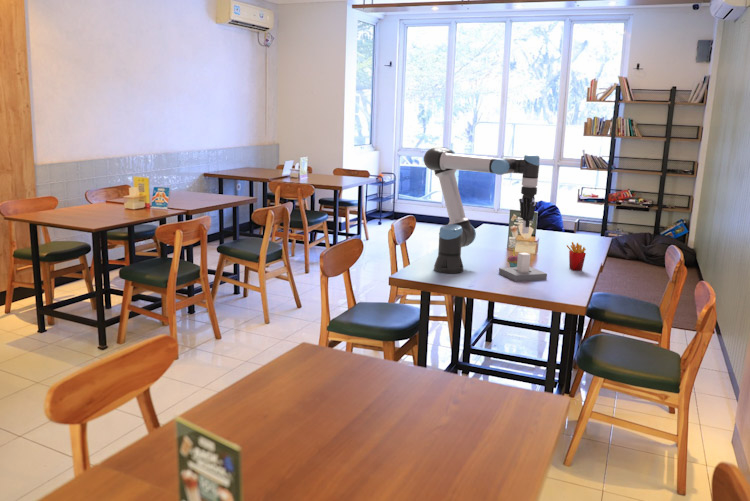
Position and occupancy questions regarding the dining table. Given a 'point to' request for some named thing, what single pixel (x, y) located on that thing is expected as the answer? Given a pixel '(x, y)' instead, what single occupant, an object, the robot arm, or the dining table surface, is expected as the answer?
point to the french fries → (576, 257)
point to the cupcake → (513, 259)
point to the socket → (522, 274)
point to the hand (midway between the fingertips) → (525, 233)
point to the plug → (523, 262)
